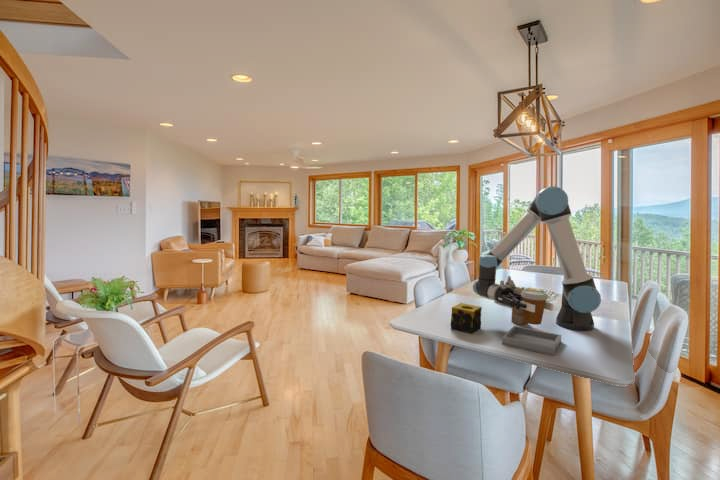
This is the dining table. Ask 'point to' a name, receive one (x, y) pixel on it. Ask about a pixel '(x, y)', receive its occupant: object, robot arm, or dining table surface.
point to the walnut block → (517, 316)
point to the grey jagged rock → (512, 286)
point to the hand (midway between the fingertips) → (543, 308)
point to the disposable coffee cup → (539, 301)
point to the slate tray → (532, 340)
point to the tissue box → (466, 318)
